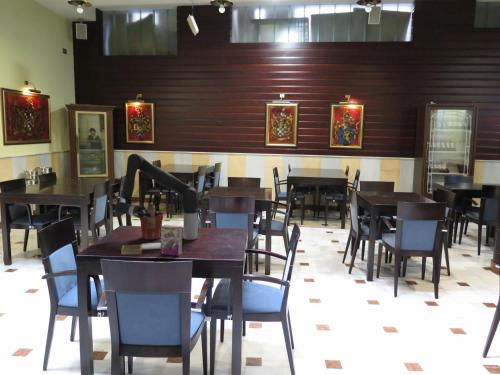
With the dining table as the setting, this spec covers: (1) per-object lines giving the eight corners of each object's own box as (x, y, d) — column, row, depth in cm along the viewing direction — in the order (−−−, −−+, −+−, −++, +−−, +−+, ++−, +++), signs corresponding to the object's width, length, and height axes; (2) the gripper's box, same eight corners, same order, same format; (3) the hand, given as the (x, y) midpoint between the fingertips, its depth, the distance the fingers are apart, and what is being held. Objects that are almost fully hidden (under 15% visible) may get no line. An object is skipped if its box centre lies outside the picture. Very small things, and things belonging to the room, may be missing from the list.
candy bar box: (160, 254, 239) (160, 226, 237) (164, 252, 244) (164, 224, 242) (178, 256, 236) (178, 227, 234) (182, 254, 241) (182, 225, 239)
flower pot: (134, 236, 279) (134, 212, 277) (157, 233, 290) (156, 210, 288) (145, 241, 267) (145, 216, 265) (168, 238, 277) (168, 214, 275)
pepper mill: (147, 226, 256) (147, 202, 254) (155, 226, 257) (155, 202, 255) (147, 228, 252) (147, 203, 250) (155, 228, 253) (155, 203, 251)
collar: (122, 249, 248) (122, 245, 248) (141, 248, 250) (141, 244, 250) (121, 254, 237) (121, 250, 237) (141, 253, 240) (141, 249, 240)
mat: (141, 244, 261) (141, 243, 260) (161, 243, 263) (161, 242, 263) (141, 249, 249) (141, 248, 249) (161, 248, 252) (161, 247, 252)
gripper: (127, 206, 257) (143, 210, 246) (147, 204, 268) (163, 207, 257) (127, 218, 258) (143, 223, 247) (147, 215, 269) (163, 219, 258)
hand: (153, 215), depth 252 cm, fingers closed on pepper mill, 4 cm apart
